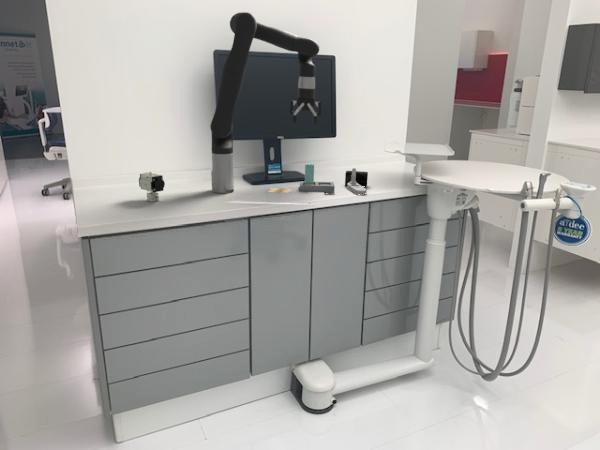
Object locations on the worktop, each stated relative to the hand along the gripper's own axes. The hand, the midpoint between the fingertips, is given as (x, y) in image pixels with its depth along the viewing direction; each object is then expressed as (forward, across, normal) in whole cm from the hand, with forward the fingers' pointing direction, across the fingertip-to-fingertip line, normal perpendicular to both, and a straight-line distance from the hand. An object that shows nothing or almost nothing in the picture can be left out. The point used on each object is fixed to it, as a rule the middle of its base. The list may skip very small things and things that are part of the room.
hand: (304, 124), depth 220 cm
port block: (+29, +7, -10) cm, 31 cm away
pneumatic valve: (+31, -62, -33) cm, 77 cm away
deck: (+29, -10, -14) cm, 34 cm away
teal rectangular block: (+28, +3, -10) cm, 31 cm away
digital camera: (+28, +26, +2) cm, 39 cm away
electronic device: (+29, +25, -9) cm, 39 cm away
